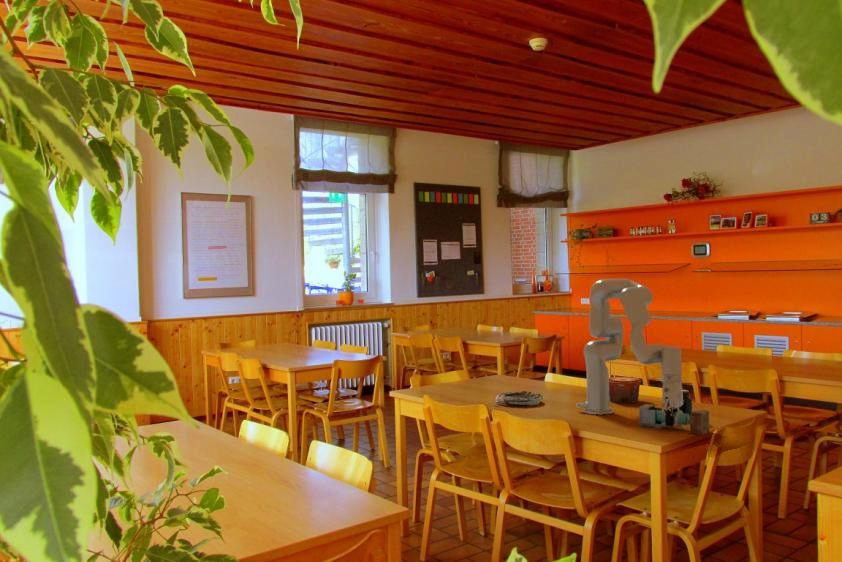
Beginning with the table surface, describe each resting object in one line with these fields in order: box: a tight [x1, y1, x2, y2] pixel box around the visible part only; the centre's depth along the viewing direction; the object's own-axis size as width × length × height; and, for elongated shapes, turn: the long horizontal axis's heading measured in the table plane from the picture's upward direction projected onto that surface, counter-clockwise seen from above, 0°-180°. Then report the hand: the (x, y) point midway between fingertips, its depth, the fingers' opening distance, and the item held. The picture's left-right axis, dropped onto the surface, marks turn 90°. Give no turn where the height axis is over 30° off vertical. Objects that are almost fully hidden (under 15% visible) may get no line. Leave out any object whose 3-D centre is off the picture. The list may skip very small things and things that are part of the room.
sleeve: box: [638, 403, 667, 430], centre depth 284 cm, size 8×7×8 cm
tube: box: [649, 409, 690, 428], centre depth 281 cm, size 16×6×6 cm, turn 49°
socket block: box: [689, 409, 710, 436], centre depth 272 cm, size 4×8×8 cm, turn 139°
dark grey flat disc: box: [493, 390, 544, 407], centre depth 339 cm, size 28×27×5 cm
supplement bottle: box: [679, 389, 694, 417], centre depth 295 cm, size 7×7×12 cm
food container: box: [609, 376, 642, 404], centre depth 338 cm, size 16×16×11 cm
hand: (672, 424), depth 279 cm, fingers closed on tube, 4 cm apart
